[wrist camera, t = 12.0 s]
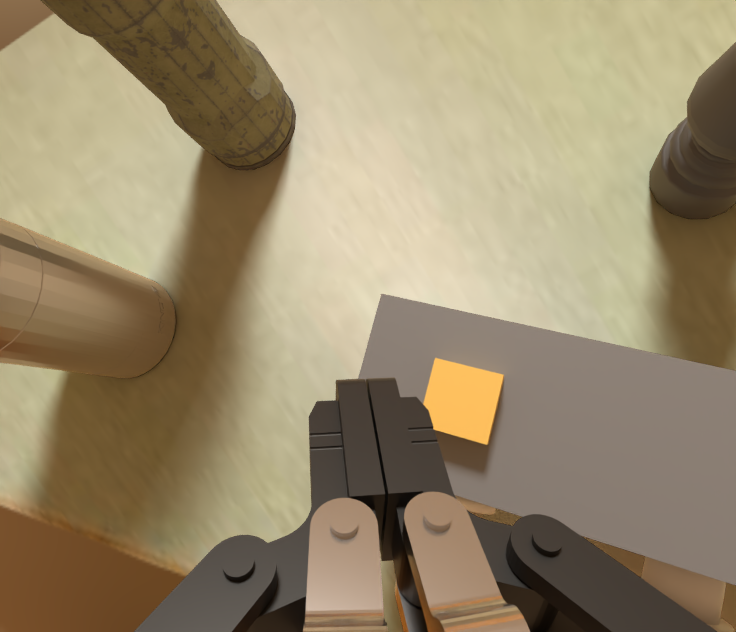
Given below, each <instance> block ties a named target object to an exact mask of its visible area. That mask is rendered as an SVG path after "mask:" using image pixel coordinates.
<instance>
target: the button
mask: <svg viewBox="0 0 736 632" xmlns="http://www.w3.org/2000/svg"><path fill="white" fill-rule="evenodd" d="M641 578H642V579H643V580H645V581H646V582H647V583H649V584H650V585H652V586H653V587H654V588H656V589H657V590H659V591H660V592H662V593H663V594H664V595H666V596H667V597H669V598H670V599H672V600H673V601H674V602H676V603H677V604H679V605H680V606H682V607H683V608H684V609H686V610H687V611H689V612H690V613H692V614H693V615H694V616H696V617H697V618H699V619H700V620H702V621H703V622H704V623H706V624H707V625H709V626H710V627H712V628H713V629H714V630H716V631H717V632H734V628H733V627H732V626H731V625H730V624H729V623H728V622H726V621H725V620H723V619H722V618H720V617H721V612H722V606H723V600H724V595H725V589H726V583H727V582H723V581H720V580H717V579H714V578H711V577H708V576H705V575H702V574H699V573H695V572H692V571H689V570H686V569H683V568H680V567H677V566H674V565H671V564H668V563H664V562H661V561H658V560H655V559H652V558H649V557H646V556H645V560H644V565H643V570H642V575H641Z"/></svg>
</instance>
